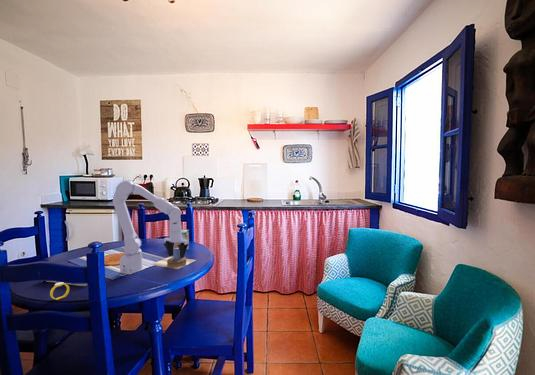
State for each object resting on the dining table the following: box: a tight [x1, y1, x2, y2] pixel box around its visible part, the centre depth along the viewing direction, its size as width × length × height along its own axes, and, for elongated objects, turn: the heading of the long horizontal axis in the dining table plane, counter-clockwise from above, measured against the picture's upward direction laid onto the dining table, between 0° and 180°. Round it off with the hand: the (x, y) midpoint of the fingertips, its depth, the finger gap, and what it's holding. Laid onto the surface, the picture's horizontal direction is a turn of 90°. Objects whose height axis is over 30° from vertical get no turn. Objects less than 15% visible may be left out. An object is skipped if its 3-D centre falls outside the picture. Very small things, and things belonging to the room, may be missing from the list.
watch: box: [49, 282, 70, 301], centre depth 104 cm, size 6×3×6 cm, turn 152°
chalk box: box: [173, 224, 190, 251], centre depth 166 cm, size 9×9×15 cm
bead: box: [167, 256, 187, 267], centre depth 138 cm, size 9×9×2 cm
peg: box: [172, 248, 180, 261], centre depth 138 cm, size 3×3×8 cm
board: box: [150, 256, 197, 270], centre depth 141 cm, size 14×18×1 cm
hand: (176, 256), depth 138 cm, fingers open, 7 cm apart
